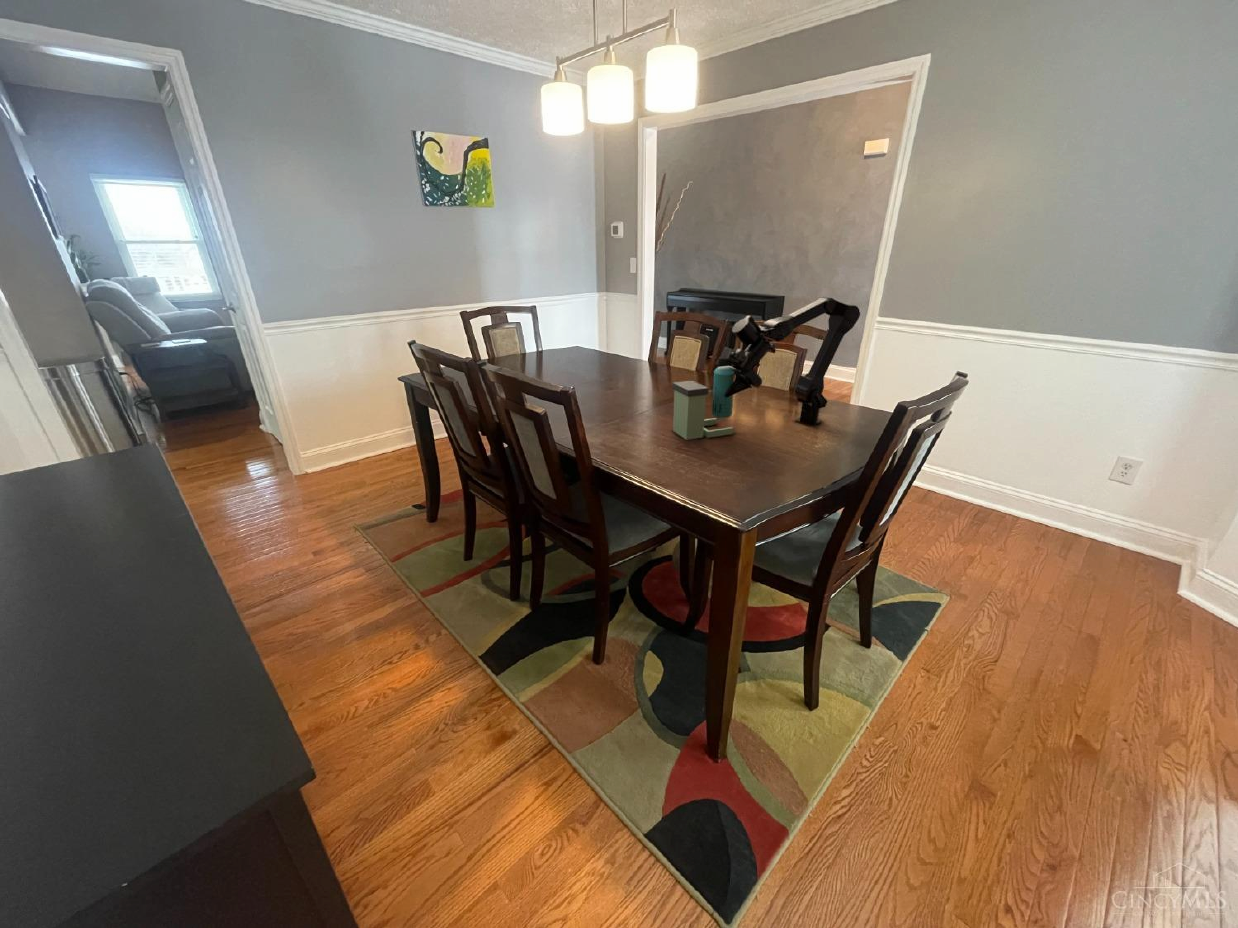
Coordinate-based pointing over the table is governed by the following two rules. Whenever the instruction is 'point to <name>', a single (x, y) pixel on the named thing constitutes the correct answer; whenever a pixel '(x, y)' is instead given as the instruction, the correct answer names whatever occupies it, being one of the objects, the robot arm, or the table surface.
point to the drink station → (693, 412)
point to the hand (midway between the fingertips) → (719, 393)
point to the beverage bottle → (722, 389)
